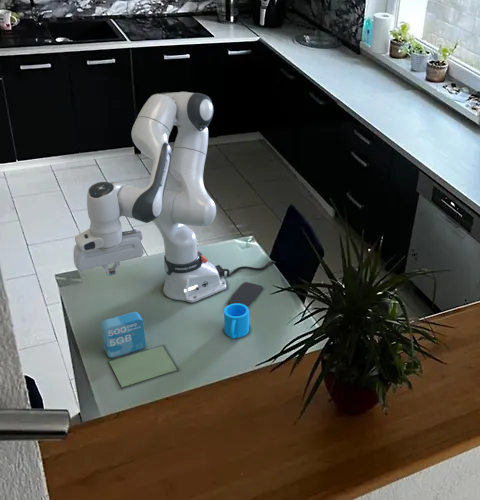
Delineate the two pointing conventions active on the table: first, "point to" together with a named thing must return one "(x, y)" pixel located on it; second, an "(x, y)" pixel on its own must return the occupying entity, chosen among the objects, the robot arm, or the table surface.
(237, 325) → the mug
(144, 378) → the mat
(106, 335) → the data package
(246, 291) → the phone
